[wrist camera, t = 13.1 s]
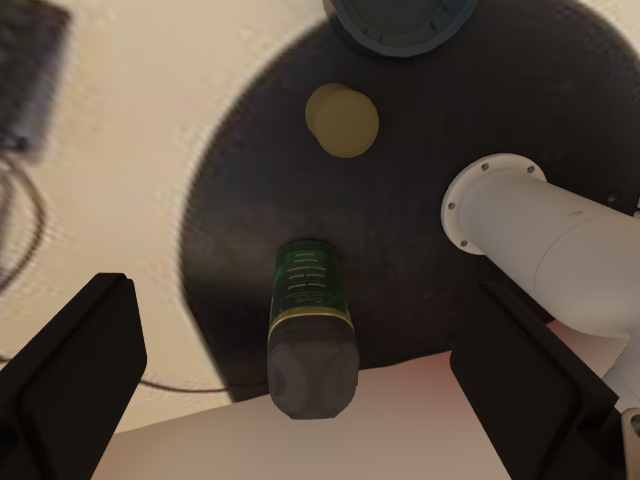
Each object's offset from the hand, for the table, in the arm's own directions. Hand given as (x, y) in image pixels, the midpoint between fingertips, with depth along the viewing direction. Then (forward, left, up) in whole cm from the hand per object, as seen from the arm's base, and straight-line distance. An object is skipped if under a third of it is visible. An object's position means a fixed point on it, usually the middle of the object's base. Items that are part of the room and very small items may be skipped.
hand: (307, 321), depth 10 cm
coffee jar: (-2, +16, -31) cm, 34 cm away
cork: (-4, -3, -31) cm, 31 cm away
